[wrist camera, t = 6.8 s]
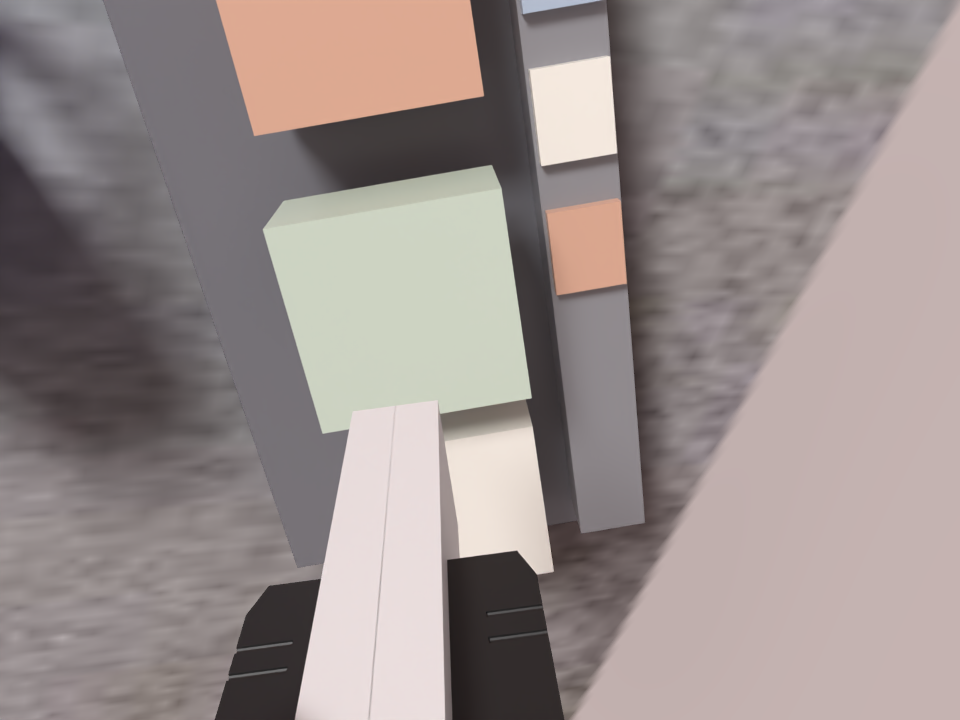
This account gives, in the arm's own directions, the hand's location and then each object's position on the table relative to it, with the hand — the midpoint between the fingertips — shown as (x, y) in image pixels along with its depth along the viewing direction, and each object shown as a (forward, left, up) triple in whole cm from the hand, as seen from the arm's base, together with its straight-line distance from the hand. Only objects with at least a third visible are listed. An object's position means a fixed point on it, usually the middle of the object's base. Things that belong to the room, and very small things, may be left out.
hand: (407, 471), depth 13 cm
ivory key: (0, -8, -12) cm, 14 cm away
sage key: (0, 0, -10) cm, 10 cm away
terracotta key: (0, +8, -12) cm, 14 cm away
